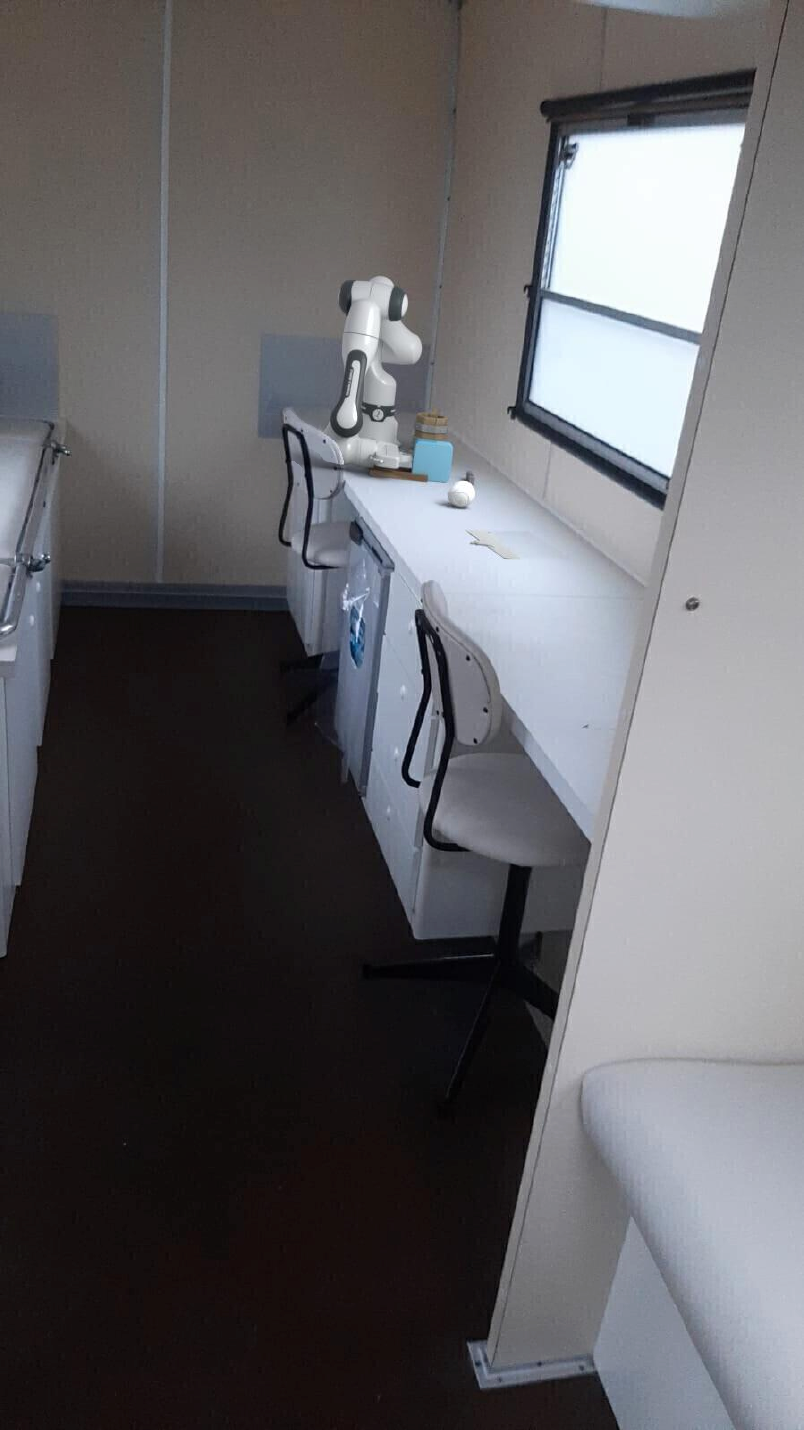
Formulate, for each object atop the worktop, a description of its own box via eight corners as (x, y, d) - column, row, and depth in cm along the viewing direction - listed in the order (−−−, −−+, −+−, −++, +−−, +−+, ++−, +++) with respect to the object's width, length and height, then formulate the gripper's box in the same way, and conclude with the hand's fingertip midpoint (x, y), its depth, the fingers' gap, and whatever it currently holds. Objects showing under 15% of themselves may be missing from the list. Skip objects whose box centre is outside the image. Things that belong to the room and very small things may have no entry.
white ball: (454, 502, 336) (458, 476, 332) (477, 507, 332) (481, 481, 329) (441, 506, 329) (445, 479, 326) (464, 512, 326) (468, 485, 323)
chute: (370, 469, 362) (370, 459, 361) (470, 480, 365) (471, 471, 364) (370, 476, 353) (371, 466, 352) (473, 487, 356) (474, 478, 355)
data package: (447, 480, 361) (452, 442, 356) (448, 483, 357) (453, 445, 352) (410, 475, 361) (415, 438, 356) (411, 479, 356) (415, 440, 352)
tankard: (442, 462, 385) (448, 418, 379) (406, 457, 386) (411, 412, 380) (449, 452, 403) (455, 409, 397) (415, 446, 405) (420, 404, 398)
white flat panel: (451, 531, 306) (452, 527, 306) (528, 534, 315) (529, 530, 315) (490, 560, 285) (491, 555, 285) (571, 563, 294) (572, 558, 294)
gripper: (370, 450, 344) (415, 455, 346) (370, 437, 363) (412, 442, 364) (368, 470, 347) (413, 475, 348) (368, 456, 366) (410, 461, 367)
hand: (412, 458), depth 356 cm, fingers closed, pressing on data package
